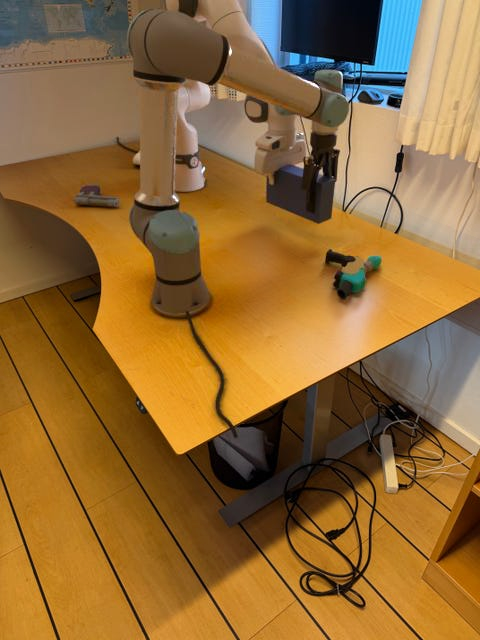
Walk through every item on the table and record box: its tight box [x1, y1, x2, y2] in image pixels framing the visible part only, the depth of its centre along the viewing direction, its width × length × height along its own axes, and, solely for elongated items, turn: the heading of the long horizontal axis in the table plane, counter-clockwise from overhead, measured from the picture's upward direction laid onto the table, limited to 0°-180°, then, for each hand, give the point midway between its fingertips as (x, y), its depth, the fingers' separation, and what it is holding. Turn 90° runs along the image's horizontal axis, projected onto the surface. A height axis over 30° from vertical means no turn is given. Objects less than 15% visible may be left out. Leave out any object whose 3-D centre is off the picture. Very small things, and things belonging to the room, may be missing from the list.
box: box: [265, 165, 336, 225], centre depth 152 cm, size 24×6×13 cm, turn 41°
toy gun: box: [73, 184, 120, 208], centre depth 181 cm, size 4×19×15 cm
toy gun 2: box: [324, 248, 383, 301], centre depth 133 cm, size 4×26×15 cm
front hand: (317, 208), depth 148 cm, fingers closed on box, 6 cm apart
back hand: (280, 181), depth 156 cm, fingers closed on box, 6 cm apart
